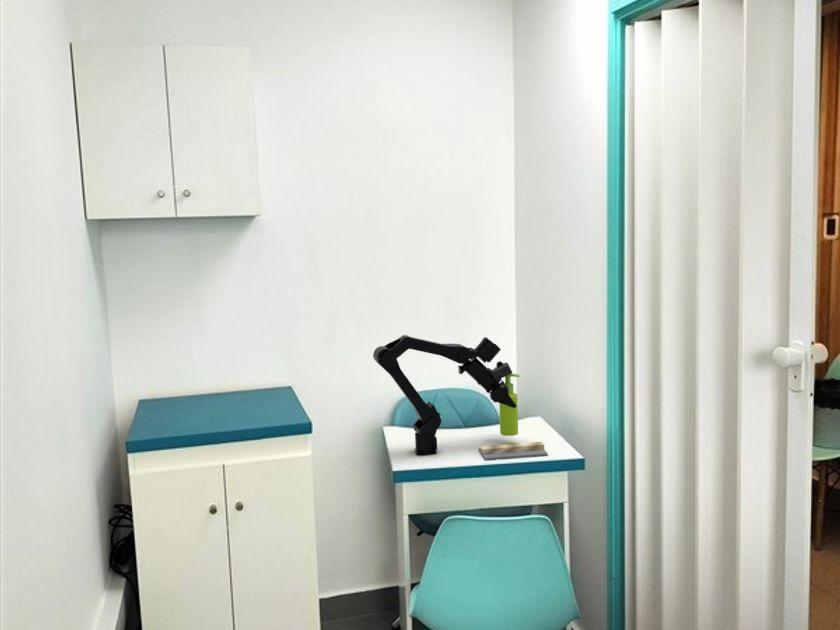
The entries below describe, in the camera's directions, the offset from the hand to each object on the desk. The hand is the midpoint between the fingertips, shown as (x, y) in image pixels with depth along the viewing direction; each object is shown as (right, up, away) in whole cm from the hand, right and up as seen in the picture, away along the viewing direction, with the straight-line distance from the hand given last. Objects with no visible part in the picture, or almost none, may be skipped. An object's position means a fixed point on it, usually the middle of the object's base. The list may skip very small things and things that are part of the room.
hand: (514, 404), depth 250 cm
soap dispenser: (-1, -10, +1) cm, 10 cm away
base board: (-2, -14, -8) cm, 17 cm away
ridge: (-2, -14, -8) cm, 17 cm away
